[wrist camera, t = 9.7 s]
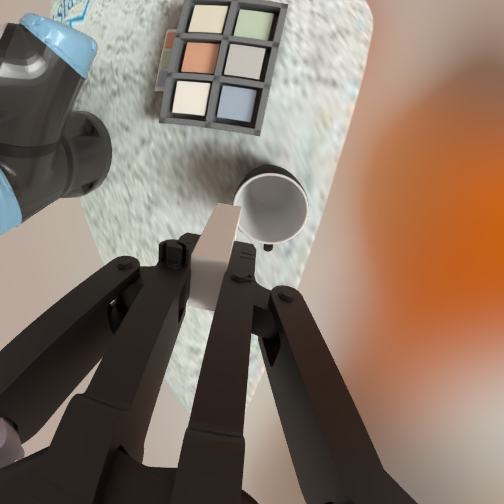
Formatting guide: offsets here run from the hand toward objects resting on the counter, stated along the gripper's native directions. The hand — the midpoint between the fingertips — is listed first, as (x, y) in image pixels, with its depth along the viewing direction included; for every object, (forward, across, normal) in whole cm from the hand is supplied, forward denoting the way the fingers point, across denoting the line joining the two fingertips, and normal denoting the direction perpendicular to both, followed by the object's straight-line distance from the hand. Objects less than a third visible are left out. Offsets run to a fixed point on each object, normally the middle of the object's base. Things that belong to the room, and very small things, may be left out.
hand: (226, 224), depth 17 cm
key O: (+22, -9, +8) cm, 25 cm away
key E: (+23, -3, +20) cm, 31 cm away
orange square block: (+23, -9, +14) cm, 29 cm away
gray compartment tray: (+24, -7, +14) cm, 29 cm away
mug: (+25, +4, -5) cm, 25 cm away
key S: (+22, -9, +20) cm, 31 cm away
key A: (+23, -3, +8) cm, 25 cm away
